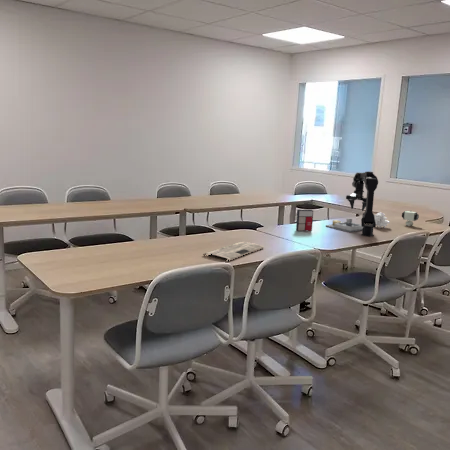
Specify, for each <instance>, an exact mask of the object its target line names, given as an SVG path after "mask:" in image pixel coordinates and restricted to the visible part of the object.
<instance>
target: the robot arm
mask: <svg viewBox="0 0 450 450" xmlns="http://www.w3.org/2000/svg"><path fill="white" fill-rule="evenodd" d="M352 180H353V181H352V183H351V185H352V187H353V188H355V190H354V191H353V193H351V194H347V195H346V196H345V200H347V201H348V202H349V204H350V207H351V210H353V209H354V206H355V201H356V200H357V201H362V202H361V203H362V205H361V206H362V208H361V211H362V212H363V213H362V217H361V220H360V222H361V223H360V225H362V227H363V229H362V230H361V231H362V232H361V234H360V235H361V236H365V237H373V236H374V235H375V234H374V228H376V227H377V225H376V223H375V218H374V215H375V214H374V212H373V207H374V198H375V196H374V195H375V191H376V189H377V188H378V184H379V179H378V177H377V176H376V175H375V174H374V172H373V171H365V172H356V173H355V174H354V176H353V179H352ZM364 187H365V189H366V197H364V193H365V191H364Z"/></svg>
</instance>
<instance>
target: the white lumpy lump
mask: <svg viewBox="0 0 450 450" xmlns="http://www.w3.org/2000/svg"><path fill="white" fill-rule="evenodd" d="M374 218H375V223H376V227H377V228H380V229H382V227H383V229H386V227H387V226H388V224H389V225H390V221H389V220H388V217H386V214H385V213H384V212H381V211H379V212H377V213H376V214H374Z"/></svg>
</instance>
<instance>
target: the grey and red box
mask: <svg viewBox="0 0 450 450" xmlns="http://www.w3.org/2000/svg"><path fill="white" fill-rule="evenodd" d="M313 221H314V210H313V209H297V211H296V228H295V230H296V231H297V232H312V231H313Z"/></svg>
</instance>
